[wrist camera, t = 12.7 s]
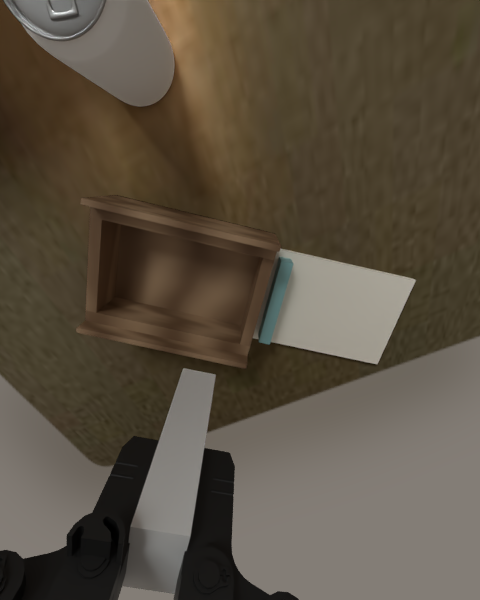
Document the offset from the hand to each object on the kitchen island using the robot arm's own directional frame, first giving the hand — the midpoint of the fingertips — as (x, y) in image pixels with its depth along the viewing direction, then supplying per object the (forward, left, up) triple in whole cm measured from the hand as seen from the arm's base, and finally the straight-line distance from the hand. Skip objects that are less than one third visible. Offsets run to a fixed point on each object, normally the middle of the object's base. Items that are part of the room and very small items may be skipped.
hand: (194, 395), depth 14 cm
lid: (+12, -1, -20) cm, 23 cm away
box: (-4, 0, -19) cm, 20 cm away
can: (-11, +17, -19) cm, 28 cm away
